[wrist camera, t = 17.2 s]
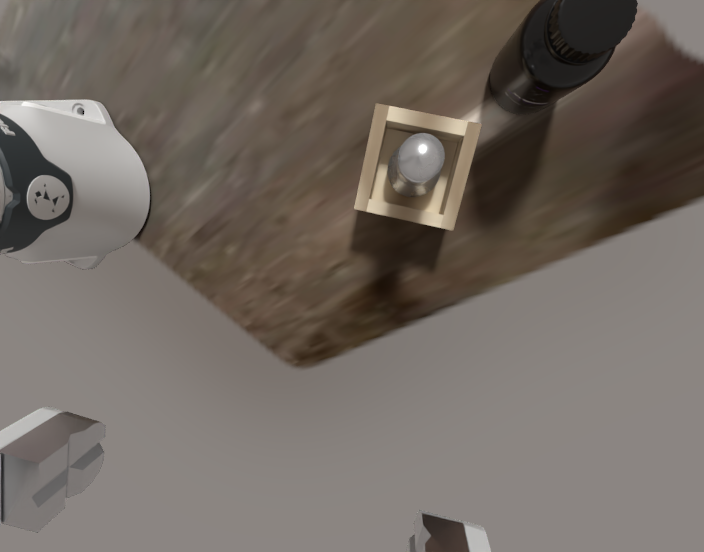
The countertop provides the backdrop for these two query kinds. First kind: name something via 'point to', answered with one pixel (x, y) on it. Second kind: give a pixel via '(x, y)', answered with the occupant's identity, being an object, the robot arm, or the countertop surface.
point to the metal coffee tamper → (416, 165)
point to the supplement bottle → (558, 51)
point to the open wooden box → (459, 150)
